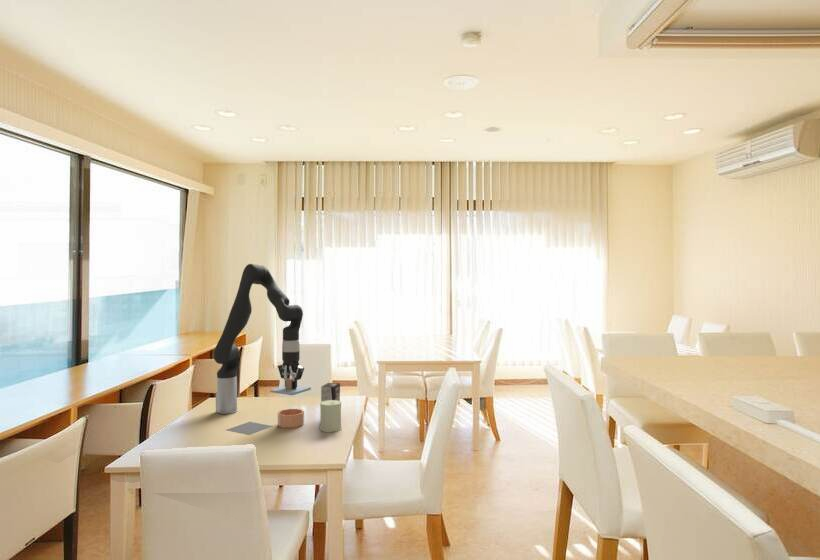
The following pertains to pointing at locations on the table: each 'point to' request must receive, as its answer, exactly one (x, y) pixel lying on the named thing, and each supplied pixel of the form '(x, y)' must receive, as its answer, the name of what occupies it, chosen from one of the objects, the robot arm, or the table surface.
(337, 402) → the can
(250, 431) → the mat
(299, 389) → the lid
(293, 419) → the bowl
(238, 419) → the table surface
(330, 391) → the coffee box
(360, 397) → the table surface
